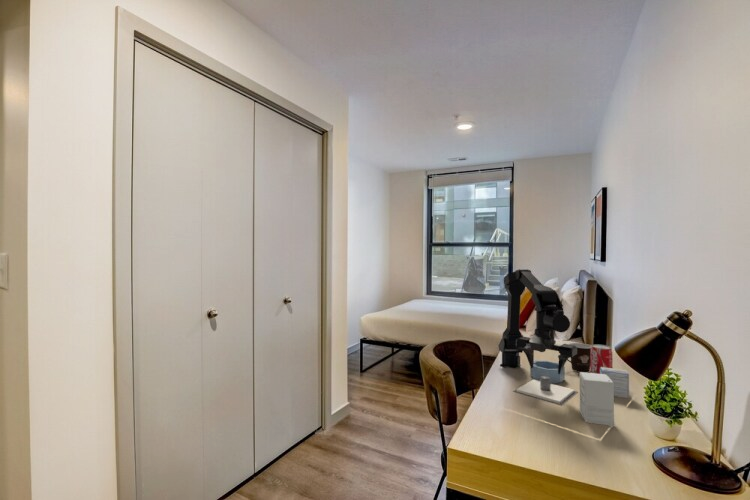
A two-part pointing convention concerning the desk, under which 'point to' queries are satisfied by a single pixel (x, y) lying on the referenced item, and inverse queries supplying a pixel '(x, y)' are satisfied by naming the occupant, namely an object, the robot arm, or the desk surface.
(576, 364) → the coffee mug
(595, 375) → the supplement box
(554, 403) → the mat
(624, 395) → the medicine box
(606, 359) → the soda can
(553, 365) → the bowl
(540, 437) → the desk surface
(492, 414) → the desk surface
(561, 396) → the lid
